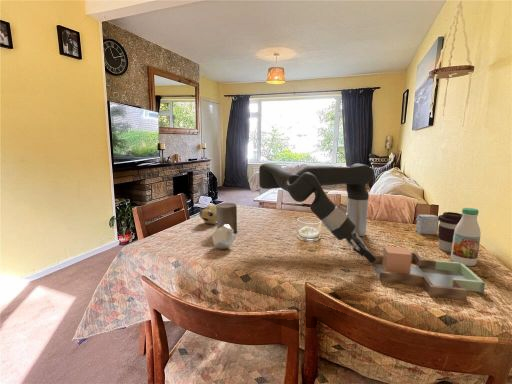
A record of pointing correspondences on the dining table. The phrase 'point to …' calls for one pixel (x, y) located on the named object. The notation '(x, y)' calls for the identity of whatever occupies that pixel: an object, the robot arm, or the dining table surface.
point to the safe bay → (472, 279)
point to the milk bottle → (466, 238)
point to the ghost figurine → (223, 237)
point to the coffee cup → (447, 229)
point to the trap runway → (426, 278)
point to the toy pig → (209, 214)
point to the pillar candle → (227, 215)
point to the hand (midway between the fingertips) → (373, 260)
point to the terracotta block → (396, 260)
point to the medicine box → (427, 224)
